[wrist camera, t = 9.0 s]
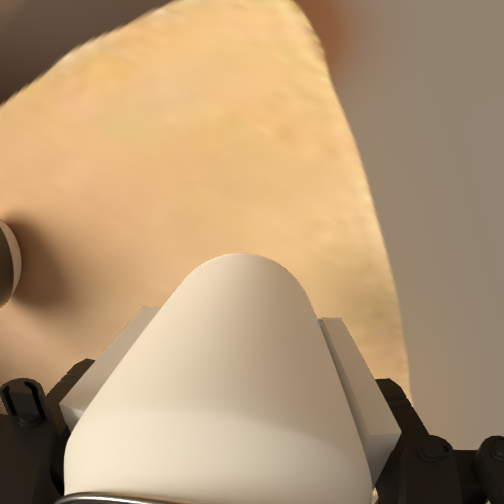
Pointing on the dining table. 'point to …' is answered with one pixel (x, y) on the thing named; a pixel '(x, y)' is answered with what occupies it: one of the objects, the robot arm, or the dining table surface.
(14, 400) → the robot arm
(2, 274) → the pump dispenser
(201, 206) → the dining table surface
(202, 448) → the can
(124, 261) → the dining table surface
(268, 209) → the dining table surface
